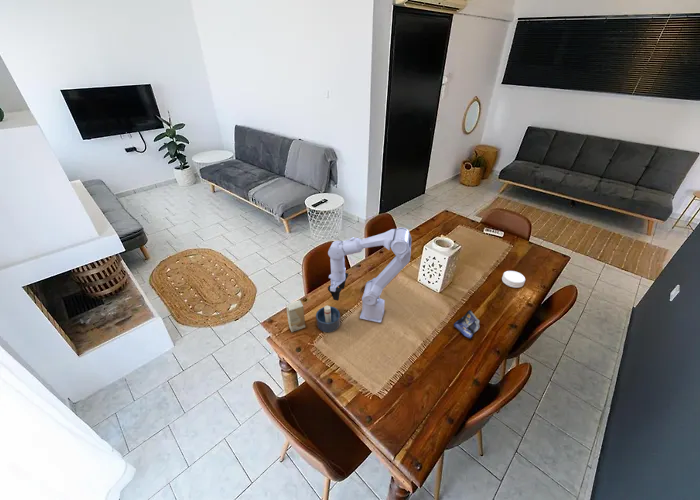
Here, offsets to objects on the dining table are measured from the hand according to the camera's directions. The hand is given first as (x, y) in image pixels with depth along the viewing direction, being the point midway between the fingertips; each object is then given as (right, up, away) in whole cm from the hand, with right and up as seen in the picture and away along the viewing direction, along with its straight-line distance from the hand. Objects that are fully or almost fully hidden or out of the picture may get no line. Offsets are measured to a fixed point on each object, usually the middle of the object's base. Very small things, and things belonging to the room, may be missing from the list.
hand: (338, 293), depth 131 cm
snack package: (+54, -14, -5) cm, 56 cm away
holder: (-4, -12, -2) cm, 13 cm away
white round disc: (+86, +3, +20) cm, 88 cm away
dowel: (-4, -12, -2) cm, 13 cm away
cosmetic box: (-17, -14, -3) cm, 22 cm away
